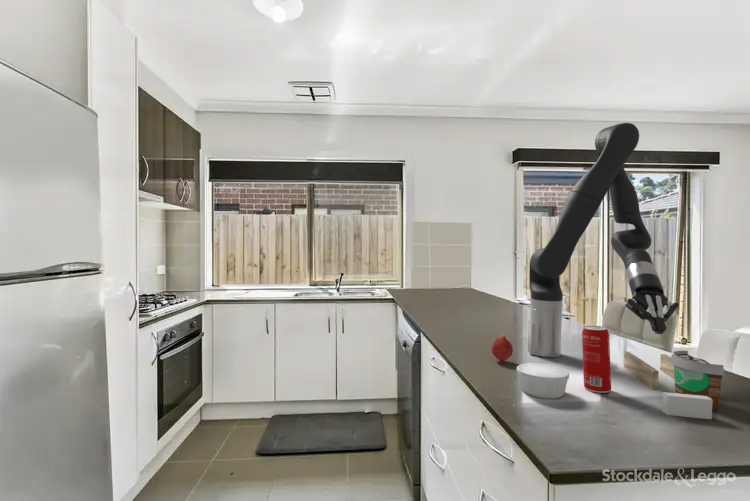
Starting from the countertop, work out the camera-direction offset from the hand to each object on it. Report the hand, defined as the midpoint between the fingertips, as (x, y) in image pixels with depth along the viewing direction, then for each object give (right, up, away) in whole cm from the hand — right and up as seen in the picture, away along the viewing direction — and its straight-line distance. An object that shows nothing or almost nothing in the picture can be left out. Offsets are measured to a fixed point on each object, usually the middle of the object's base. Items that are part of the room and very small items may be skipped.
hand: (660, 332), depth 105 cm
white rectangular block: (-10, -13, -21) cm, 27 cm away
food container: (-3, -13, -13) cm, 19 cm away
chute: (0, -12, +1) cm, 13 cm away
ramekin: (-35, -12, -10) cm, 38 cm away
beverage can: (-21, -12, -8) cm, 25 cm away
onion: (-37, -11, +13) cm, 41 cm away
